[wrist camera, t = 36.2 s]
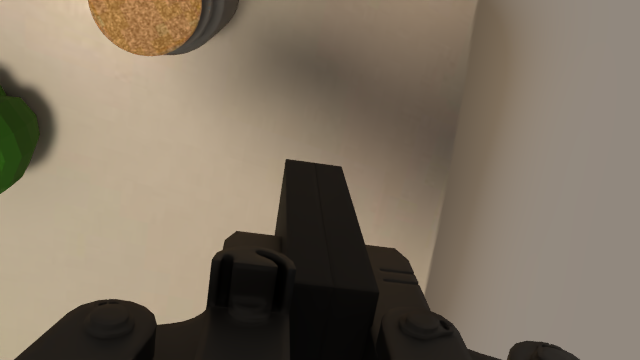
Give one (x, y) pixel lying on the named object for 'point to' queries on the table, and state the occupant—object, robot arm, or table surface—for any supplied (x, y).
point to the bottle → (161, 23)
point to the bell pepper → (15, 138)
